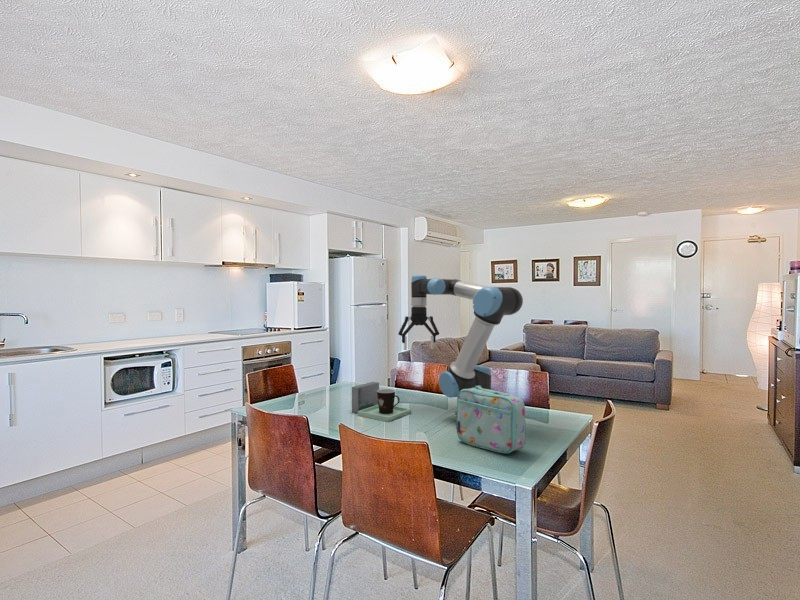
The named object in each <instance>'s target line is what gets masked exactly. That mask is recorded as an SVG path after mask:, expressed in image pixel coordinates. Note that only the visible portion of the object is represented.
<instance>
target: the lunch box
mask: <svg viewBox="0 0 800 600" xmlns="http://www.w3.org/2000/svg"><path fill="white" fill-rule="evenodd" d="M456 398H457V399H456V405H457V406H456V411H455V414H454V415H455V416H456V421H455V423H456V424H455V426H456V427H455V428H456V433H457V437H458V439H459V441H461V442H462V443H464V444H466V445H469V446H473V447H475V446H476V448H479V449H483V450H487V451H491V452H494V453H500V454H510V453H512V452H516V451H518V450H521V449H523V448H524V446H525V444H526V407H525V402H524V399H522V398H521V397H519V396H518V395H515V394H511V393H507V392H502V391H499V390H493V389H491V390H489V389H483V388H482V387H481V386H475V388H471V389H463V390H461V391H460V392H459V394H458V397H456Z"/></svg>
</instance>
